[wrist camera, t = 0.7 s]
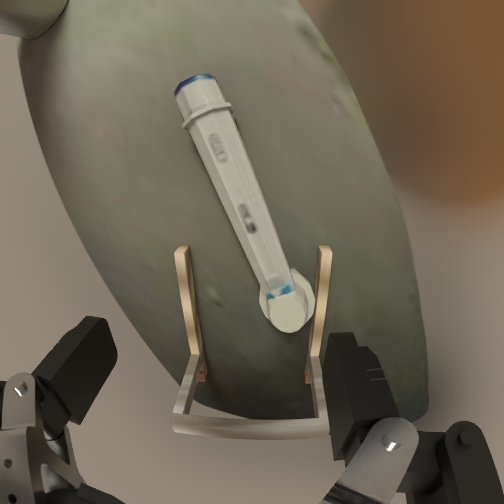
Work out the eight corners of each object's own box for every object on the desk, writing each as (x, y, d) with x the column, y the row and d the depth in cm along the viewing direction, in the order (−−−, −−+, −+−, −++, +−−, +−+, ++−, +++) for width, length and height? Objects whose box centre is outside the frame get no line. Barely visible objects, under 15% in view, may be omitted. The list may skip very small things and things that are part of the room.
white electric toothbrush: (216, 63, 18) (327, 340, 23) (231, 87, 24) (319, 307, 29) (159, 92, 19) (271, 357, 24) (185, 109, 26) (274, 322, 30)
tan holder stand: (177, 245, 28) (127, 311, 17) (330, 245, 27) (368, 315, 16) (198, 370, 35) (178, 444, 24) (313, 372, 34) (324, 449, 23)
